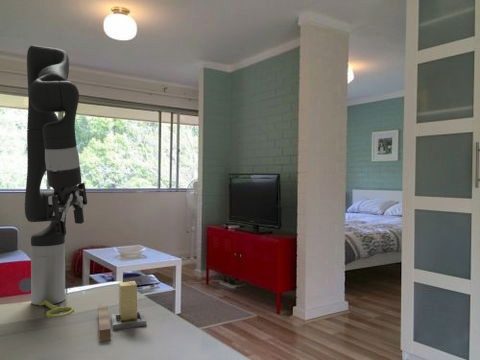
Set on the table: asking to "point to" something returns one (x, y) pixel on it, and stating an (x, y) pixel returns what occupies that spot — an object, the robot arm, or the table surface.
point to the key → (55, 309)
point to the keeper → (128, 324)
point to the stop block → (127, 301)
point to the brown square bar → (104, 323)
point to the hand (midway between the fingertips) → (70, 229)
